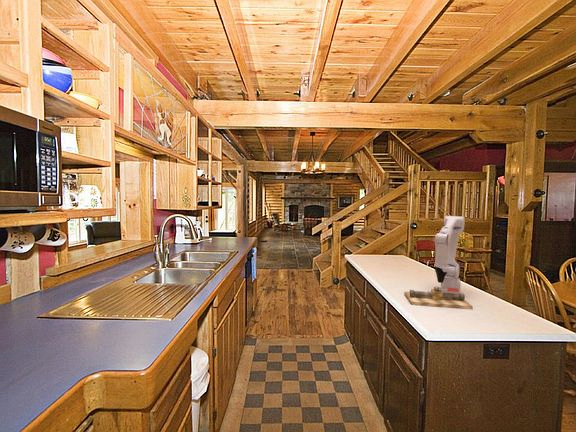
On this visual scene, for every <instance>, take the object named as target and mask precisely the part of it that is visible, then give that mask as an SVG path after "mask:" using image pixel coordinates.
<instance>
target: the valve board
mask: <svg viewBox="0 0 576 432" xmlns="http://www.w3.org/2000/svg"><path fill="white" fill-rule="evenodd" d="M403 293H404V296H405V298H406V299H407V301H408V303H409V304H410V305H412V306H425V307H426V306H427V307H438V308H440V307H441V308H451V309H452V308H453V309H465V310H473V305H472V304H471V303H470V302H469V301H467V300H466V296H465V294H464V293H461V292H460V293H459V294H452V293H443V292H442V291H441V290H439V291H437V290H434V288H431V289H430V291H421V290H414V289H409V291H404V292H403Z"/></svg>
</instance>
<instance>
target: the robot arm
mask: <svg viewBox="0 0 576 432" xmlns="http://www.w3.org/2000/svg"><path fill="white" fill-rule="evenodd" d="M443 218H444V219H443V225H444V226H442V227H441V229H440V231H439V233H435V235H434V248H435V257H434V258H435V259H434V260H435V261H434V268H433V269H434V272H435V275H436V280H437V283H440V288H458V289H459V292H450V291H443V290H441V291H442V292H443V293H452V294H459V293H461V285H462V284H461V279H460V276H459V275H460V268H461V267H460V264H459V263H458V262H457V261H456V255H457V248H458V242H459V236H460V234H462V233H463V232H464V229H465V222H466V221H465V220H466V219H465V217H464V216H459V215H458V216H457V215H455V216H454V215H445V216H444V217H443Z"/></svg>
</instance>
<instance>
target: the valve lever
mask: <svg viewBox="0 0 576 432" xmlns="http://www.w3.org/2000/svg"><path fill="white" fill-rule="evenodd" d="M433 289H434V290H437V291H439V290H443V291H450V292H459V289H458V288H441V287H438V286H434V287H433Z"/></svg>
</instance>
